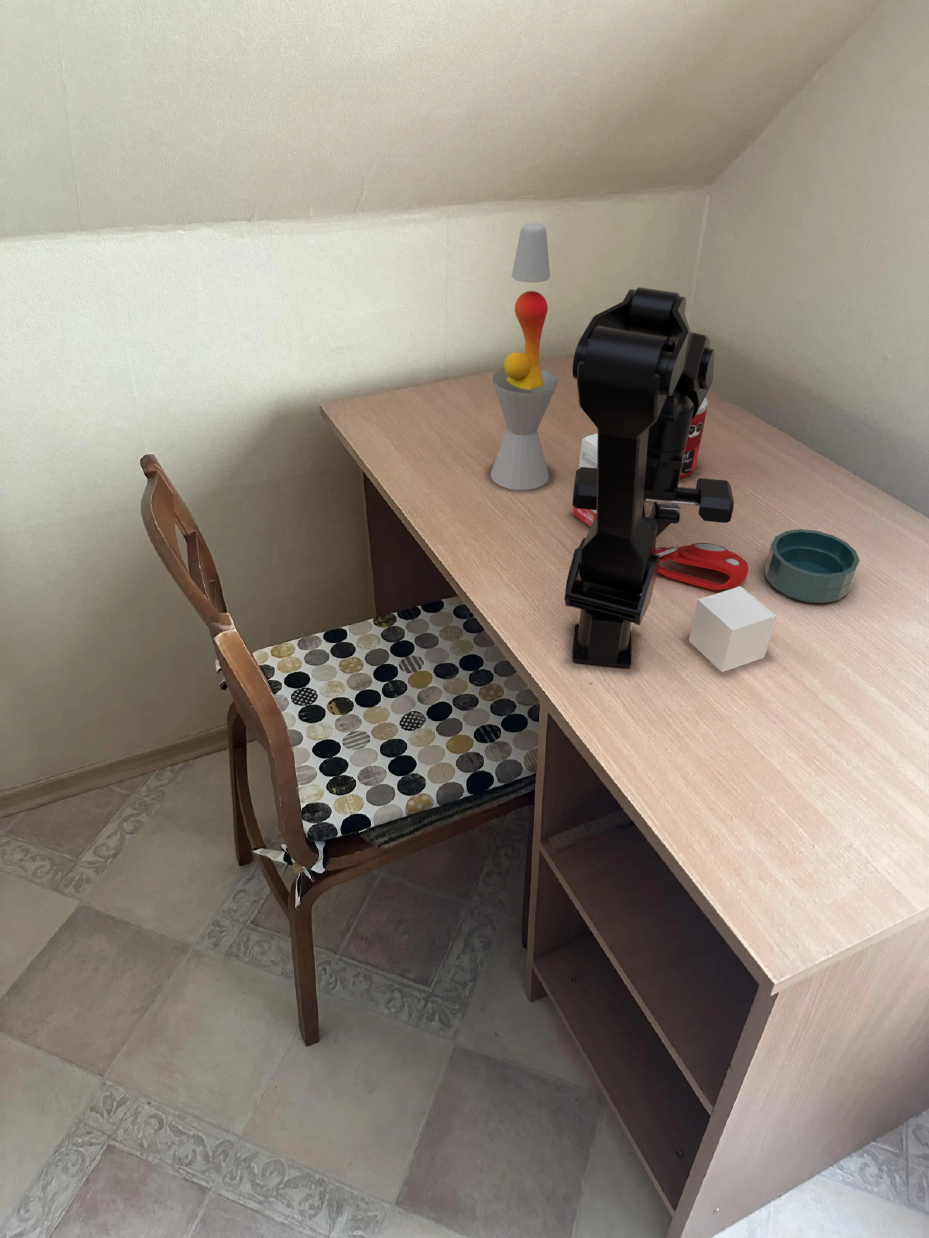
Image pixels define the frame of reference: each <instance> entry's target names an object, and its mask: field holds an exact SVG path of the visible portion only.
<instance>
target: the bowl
mask: <svg viewBox="0 0 929 1238" xmlns="http://www.w3.org/2000/svg"><path fill="white" fill-rule="evenodd" d="M859 564H860V557H859V555H858V552H857V550H856V549H855V548H853V547H852V546H851V544H849V543H848V542H847V541H846V540H843V539H841V538H839V537H837V536H835V535H833V534H830V533H828V532H827V533H826V532H823V531H819V530H815V529H802V528H801V529H799V528H797V529H792V530H785V531H783V532H781V533H779V534H777V535H775V536H774V538H773V540H772V542H770V546H769V549H768V554H767V557H766V561H765V565H764V574H765V580H767V582H768V583H769V584H770V585H771V586H772V587H773V588H774V589H776V590H777V591H779V592H780V593H781V594H783V595H785V596H786V597H788V598H790V599H793V600H796V601H800V602H804V603H810V604H825V603H831V602H837V601H839V600H841V599H842V598H844V597H846V596H847V595H848V594H849V592H850V589H851V587H852V585H853V581H854V578H855V576H856V572H857V569H858V567H859Z"/></svg>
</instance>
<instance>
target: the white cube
mask: <svg viewBox="0 0 929 1238" xmlns="http://www.w3.org/2000/svg"><path fill="white" fill-rule="evenodd" d="M776 620H777V615H776V614H775V613H774V612H772V611H771V610H770V609H769V608H768V607H766V606H765V605H764V604H763V603H762V602H761V601H759V600H758V599H757V598H756V597H754V596H753V595H752V594H751V593H750V592H749V591H748V590H746V589H745V588H744V587H742V586H740V585H739V586H737V587H735V588H732V589H726V590H723V591H720V592H718V593H715V594H711V595H708V596H705V597H701V598H698V599H697V602H696V606H695V610H694V614H693V620H692V624H691V629H690V633H689V639H688V642H689V643H690V645H692V646H693V647H694V648H695V649H696V650H697V651H698V652H700V654H702V655H703V656H704V657H705V658H706V659H707V660H708V661H709V662H710V663H711V664H712V665H713V666H714V667H715V668H717V669H718V671H720V673H725V672H728V671H730V670H734V669H736V668H739V667H742V666H745V665H748V664H751V663H753V662H756V661H760V660H763V659H765V656H766V655H767V650H768V647H769V644H770V639H771V636H772V633H773V630H774V626H775V622H776Z"/></svg>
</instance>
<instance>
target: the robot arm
mask: <svg viewBox="0 0 929 1238" xmlns="http://www.w3.org/2000/svg"><path fill="white" fill-rule="evenodd" d="M686 307H687V298H686V297H685V296H681V295H680V293H679V292H676V291H675V292H673V291H670V290H669V291H668V290H660V289H656V288H655V289H653V288H647V287H640V286H638V287H637V288H636V289H634V288H633V289H632V288H630V289H629V290H628V291H627V293H626V294H625V297H624V299H623V300H622V301H621V302H618V303H617V304H615V305H613V306H611V307H609V308H607V309H604V310H603V311H601V312H599V313H597V314H595V315H594V316H593V317H592V318H591V320H590V321H589V323H588V324H587V327H586V328H585V330H584V332H583V333H582V335H581V337H580V339H579V340H578V343H577V344H576V348H575V351H574V355H573V359H572V360H573V361H572V370H571V371H572V378H573V379H574V380H576V387H577V396H578V404H579V407H580V409H581V410H582V411H583V412H584V414H585V415H586V416H587V417H588V418H589V420H590V421H591V422H592V423H593V425H594V426H595V427H596V429H597V433H598V444H597V468H588V467H580V468H579V467H578V468H577V469H576V470H575V474H574V483H573V485H574V486H573V492H572V493H573V494H572V507H573V508H574V507H575V508H578V509H588V510H597V518H596V519H595V520H594V521H593V523H592V525H591V527H589V530H588V533H587V535H586V537H583V538H582V540H581V542H580V544H579V546H578V547H576V548H575V549H574V551H573V555H572V559H571V562H570V566H569V570H568V573H567V578H566V583H565V590H564V598H563V599H564V603H565V604H564V606H565V607H568V608H569V607H571V608H576V609H580V613H579V621H578V623H575V624H574V629H573V641H572V642H573V643H572V654H571V655H572V656H571V661H572V662H573V663H576V664H586V665H595V666H603V667H605V666H606V667H613V668H623V669H629V668H631V667H632V624H634V625H636V626H641V624H642V622H643V620H644V617H645V615H646V613H647V611H648V608H649V606H650V604H651V601H652V596H653V592H654V587H655V583H656V579H657V575H658V572H657V571H658V567H659V565H660V562H661V561H660V557H661V556H660V555H656V554H655V553H656V549H657V538H658V537H659V536H660V535H661V534H662V533H663V532H664V531H665V530H666V529H667V528H668V527H669V526H670V525H671V524H674V525H675V524H679V522H680V521H681V513H680V509H682V506H694V507H698V506H699V508H698V516H699V517H700V519H702V520H703V522H712V523H721V524H728V523H730V522H731V520H732V517H733V512H734V507H735V500H734V495H733V490H732V486H731V484H730V482H729V481H728V480H725V479H713V478H702V477H699V478H698V479H697V480H696V485H695V488H693V487H682V486H681V485H680V480H681V479H680V474H681V469H682V464H683V460H684V455H685V450H686V445H687V440H688V435H689V430H690V425H691V420H692V419H693V418H694V417H695V415H696V414H697V412H698V410H699V408H700V406H701V404H702V402H703V401H704V399H705V398H707V395H708V392H709V390H710V389H711V387H712V385H713V381H714V367H715V349H714V348H711V339H710V338H709V336H707V335H705V334H702V333H697V332H693V331H691V328H690V325H689V322H688V319H687V317H686ZM646 502H652V503H651V508H650V513H649V515H648V516H645V515H646V513H645V503H646Z"/></svg>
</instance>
